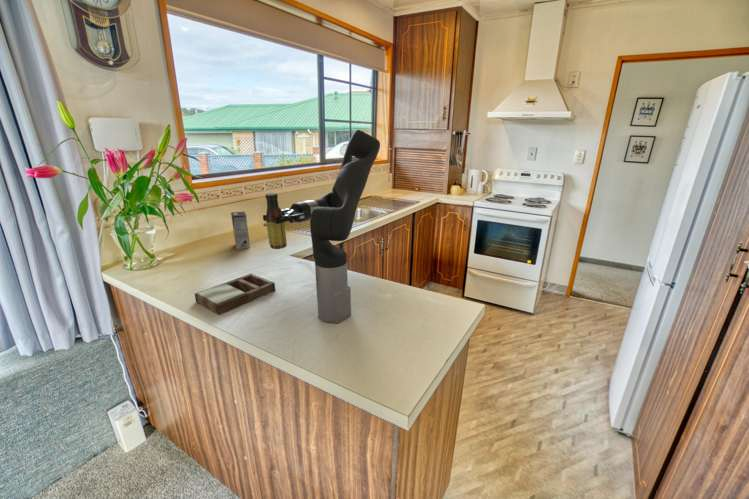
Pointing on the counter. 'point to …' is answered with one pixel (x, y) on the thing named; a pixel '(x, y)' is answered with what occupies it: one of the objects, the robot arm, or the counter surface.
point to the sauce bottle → (275, 230)
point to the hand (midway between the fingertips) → (269, 219)
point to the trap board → (234, 293)
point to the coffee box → (240, 230)
